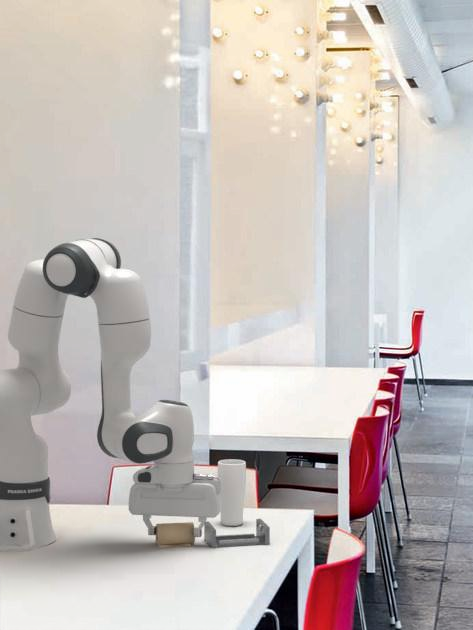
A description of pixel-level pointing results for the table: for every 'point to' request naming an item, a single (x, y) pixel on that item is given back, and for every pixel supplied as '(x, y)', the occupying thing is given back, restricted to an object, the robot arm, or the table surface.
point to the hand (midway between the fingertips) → (174, 535)
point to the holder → (237, 537)
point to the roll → (175, 533)
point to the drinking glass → (232, 491)
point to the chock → (174, 545)
